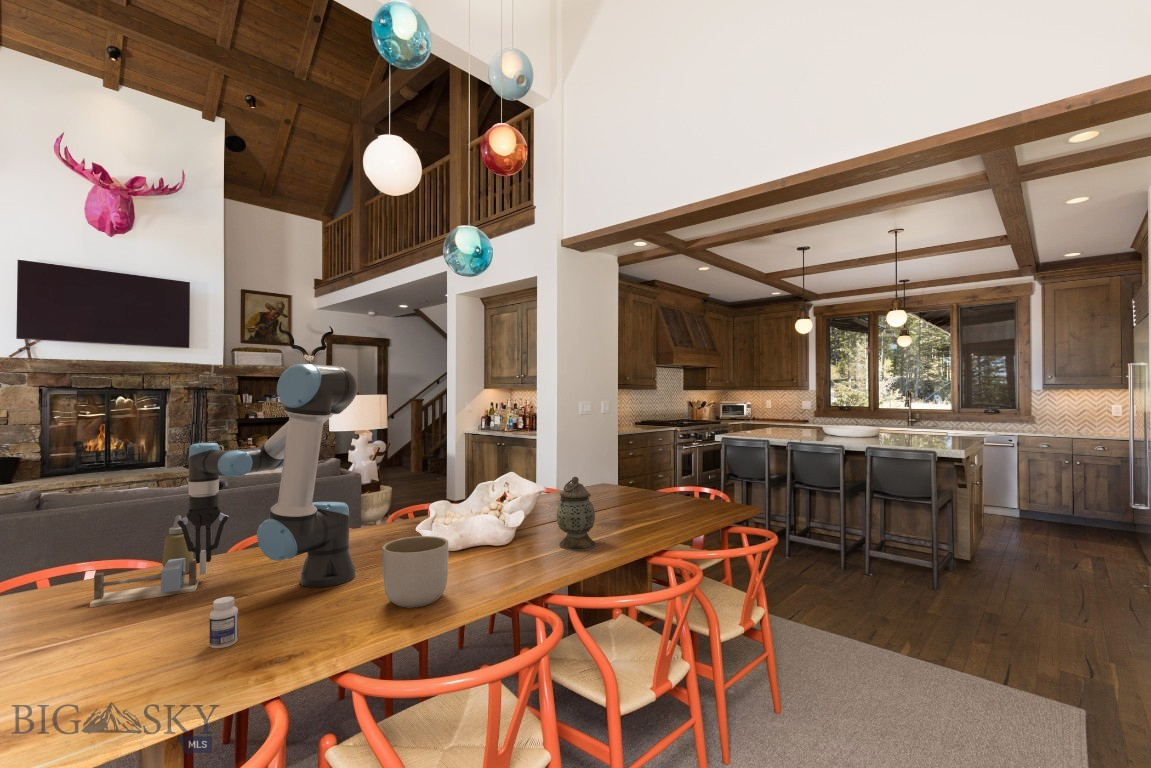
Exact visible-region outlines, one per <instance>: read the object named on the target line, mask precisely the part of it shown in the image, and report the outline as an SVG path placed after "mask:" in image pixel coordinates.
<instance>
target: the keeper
mask: <svg viewBox="0 0 1151 768" xmlns="http://www.w3.org/2000/svg"><path fill="white" fill-rule="evenodd" d="M184 571H185V558H180V559H172V560H168V562H167V563H166V565H165V566H164V567H163V568H162V569H161V571H160V572H161V573H160V575H161V578H160V582H161V583H160V585H161V593H165V592H171V591H178V590H179V589H180V587H181V585H182V583H183V582H185V579H186V575H182V572H184Z"/></svg>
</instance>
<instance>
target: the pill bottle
mask: <svg viewBox="0 0 1151 768" xmlns="http://www.w3.org/2000/svg"><path fill="white" fill-rule="evenodd" d="M212 604H213V606H212V607H213V610H212V611H210V613H209V647H210V648H212V649H222V648H227V647H230V646H233V645H234V644H235V643H237V642H238V640H239V609H238V608H239V607H236V606H235V597H234V596H223V597H219V598H216V599H215V600H214V601H213V603H212Z"/></svg>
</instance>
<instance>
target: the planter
mask: <svg viewBox="0 0 1151 768" xmlns="http://www.w3.org/2000/svg"><path fill="white" fill-rule="evenodd" d="M381 551H382V553H381V556H382V578H383V579H382V580H383V588H384V592H385V595H386V597H387V599H388V600H389V601H390V602H392V603H393V604H394V605H396V606H398V607H401V608H409V609H411V608H420V607H425V606H428V605H431V604H433V603H434V602H436V601H437V600H438V599H439V598H440V597H441V596H442V595H443V594H444V592H445V591H446V587H447V584H448V578H449V577H448V576H449V574H448V573H449V541H448V539H446V538H444V537H440V536H433V535H430V536H429V535H418V536H409V537H402V538H398V539H395V540H391V541H389V542H387V543H385V544H384V545H382V549H381Z"/></svg>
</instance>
